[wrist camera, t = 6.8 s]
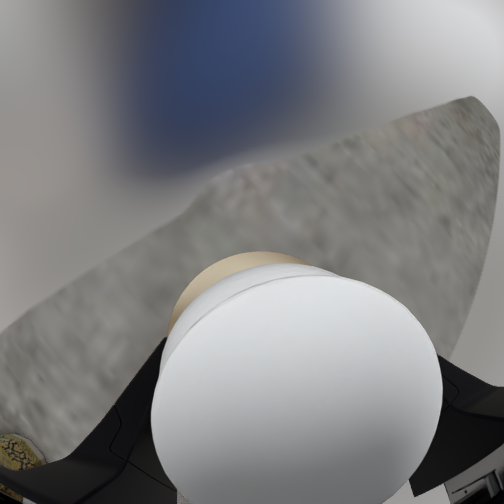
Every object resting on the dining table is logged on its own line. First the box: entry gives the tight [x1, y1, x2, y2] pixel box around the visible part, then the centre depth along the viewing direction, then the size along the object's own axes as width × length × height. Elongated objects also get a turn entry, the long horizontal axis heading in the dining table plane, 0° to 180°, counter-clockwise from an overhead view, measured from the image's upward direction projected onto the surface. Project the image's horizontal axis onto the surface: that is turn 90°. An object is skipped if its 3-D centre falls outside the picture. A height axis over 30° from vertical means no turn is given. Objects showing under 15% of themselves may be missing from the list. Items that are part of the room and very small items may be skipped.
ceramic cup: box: [0, 434, 47, 502], centre depth 11 cm, size 13×10×10 cm
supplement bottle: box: [151, 263, 443, 504], centre depth 9 cm, size 7×7×13 cm
